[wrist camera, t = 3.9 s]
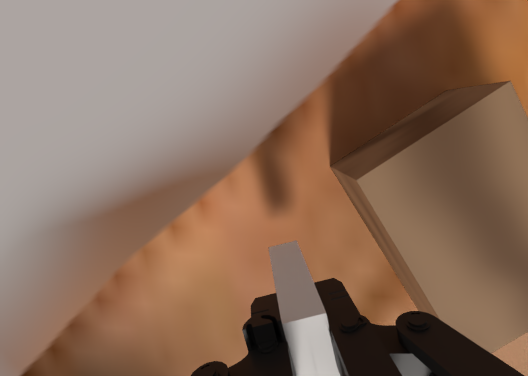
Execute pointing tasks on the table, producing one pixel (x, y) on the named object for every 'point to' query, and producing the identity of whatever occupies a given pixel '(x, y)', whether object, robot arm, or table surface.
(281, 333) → the robot arm
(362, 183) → the walnut block
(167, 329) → the table surface
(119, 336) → the table surface
